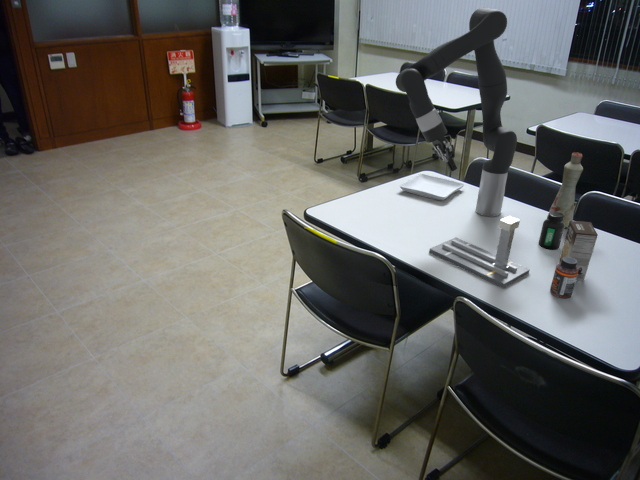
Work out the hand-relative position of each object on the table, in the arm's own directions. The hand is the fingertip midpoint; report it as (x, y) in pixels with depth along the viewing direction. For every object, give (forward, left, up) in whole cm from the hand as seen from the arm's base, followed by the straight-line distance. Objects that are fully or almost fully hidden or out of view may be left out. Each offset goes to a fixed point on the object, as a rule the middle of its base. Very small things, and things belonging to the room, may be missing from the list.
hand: (453, 170), depth 179 cm
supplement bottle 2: (+7, +48, -23) cm, 53 cm away
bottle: (-39, +23, -23) cm, 51 cm away
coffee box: (-7, +44, -23) cm, 50 cm away
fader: (+11, +30, -21) cm, 38 cm away
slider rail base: (+11, +22, -23) cm, 33 cm away
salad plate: (-27, -28, -24) cm, 46 cm away
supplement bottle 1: (-19, +30, -23) cm, 42 cm away
